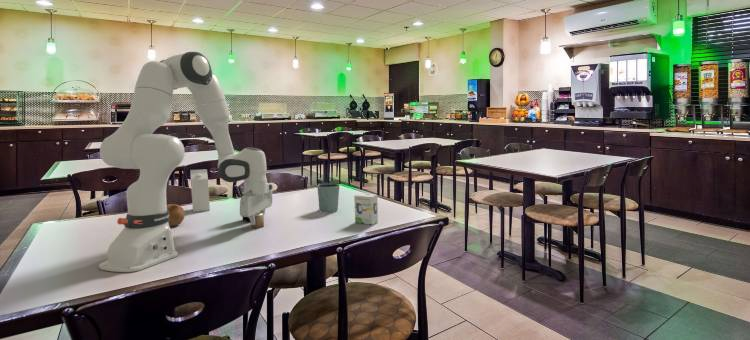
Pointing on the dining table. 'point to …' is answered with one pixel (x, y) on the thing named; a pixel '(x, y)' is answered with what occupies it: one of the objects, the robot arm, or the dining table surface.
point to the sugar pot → (258, 221)
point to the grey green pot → (328, 197)
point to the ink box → (366, 208)
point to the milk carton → (200, 190)
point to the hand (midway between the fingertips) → (257, 222)
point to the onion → (175, 214)
